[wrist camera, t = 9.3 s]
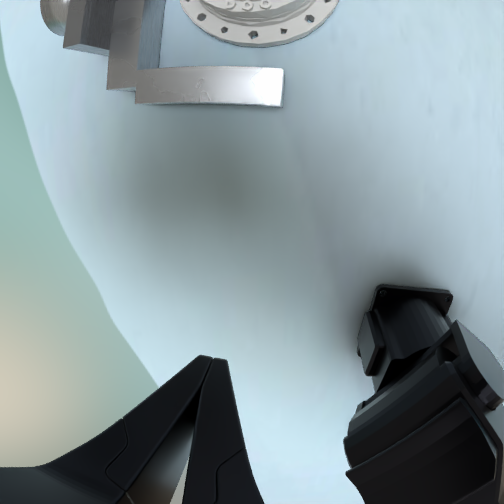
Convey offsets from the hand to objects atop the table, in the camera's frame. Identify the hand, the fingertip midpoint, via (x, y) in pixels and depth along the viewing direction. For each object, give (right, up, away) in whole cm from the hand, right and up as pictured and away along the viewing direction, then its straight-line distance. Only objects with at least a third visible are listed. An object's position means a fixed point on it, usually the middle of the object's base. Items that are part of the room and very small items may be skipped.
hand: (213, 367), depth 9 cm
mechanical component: (+2, +20, +6) cm, 21 cm away
